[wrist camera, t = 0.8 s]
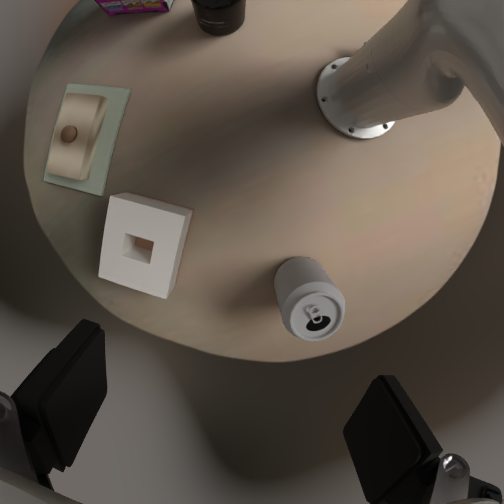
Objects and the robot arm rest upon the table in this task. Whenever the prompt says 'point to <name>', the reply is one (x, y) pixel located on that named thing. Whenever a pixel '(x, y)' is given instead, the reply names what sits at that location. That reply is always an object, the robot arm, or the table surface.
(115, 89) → the mat
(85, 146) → the lid
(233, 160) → the table surface
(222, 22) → the supplement bottle
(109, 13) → the candy bar box
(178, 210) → the gray block
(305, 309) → the can
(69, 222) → the table surface
